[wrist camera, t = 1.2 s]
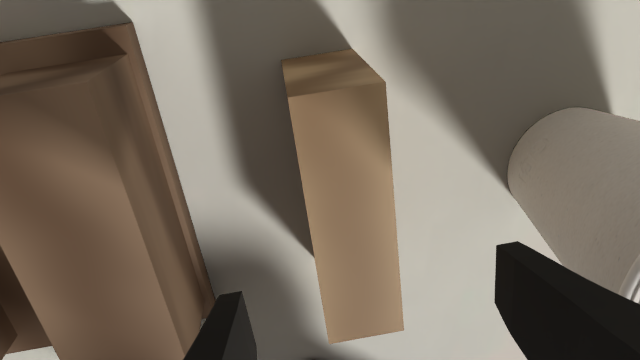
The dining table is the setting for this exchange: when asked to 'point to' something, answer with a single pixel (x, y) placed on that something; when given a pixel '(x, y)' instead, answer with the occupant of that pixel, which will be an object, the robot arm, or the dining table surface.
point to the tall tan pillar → (347, 190)
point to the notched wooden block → (92, 205)
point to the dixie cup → (584, 193)
